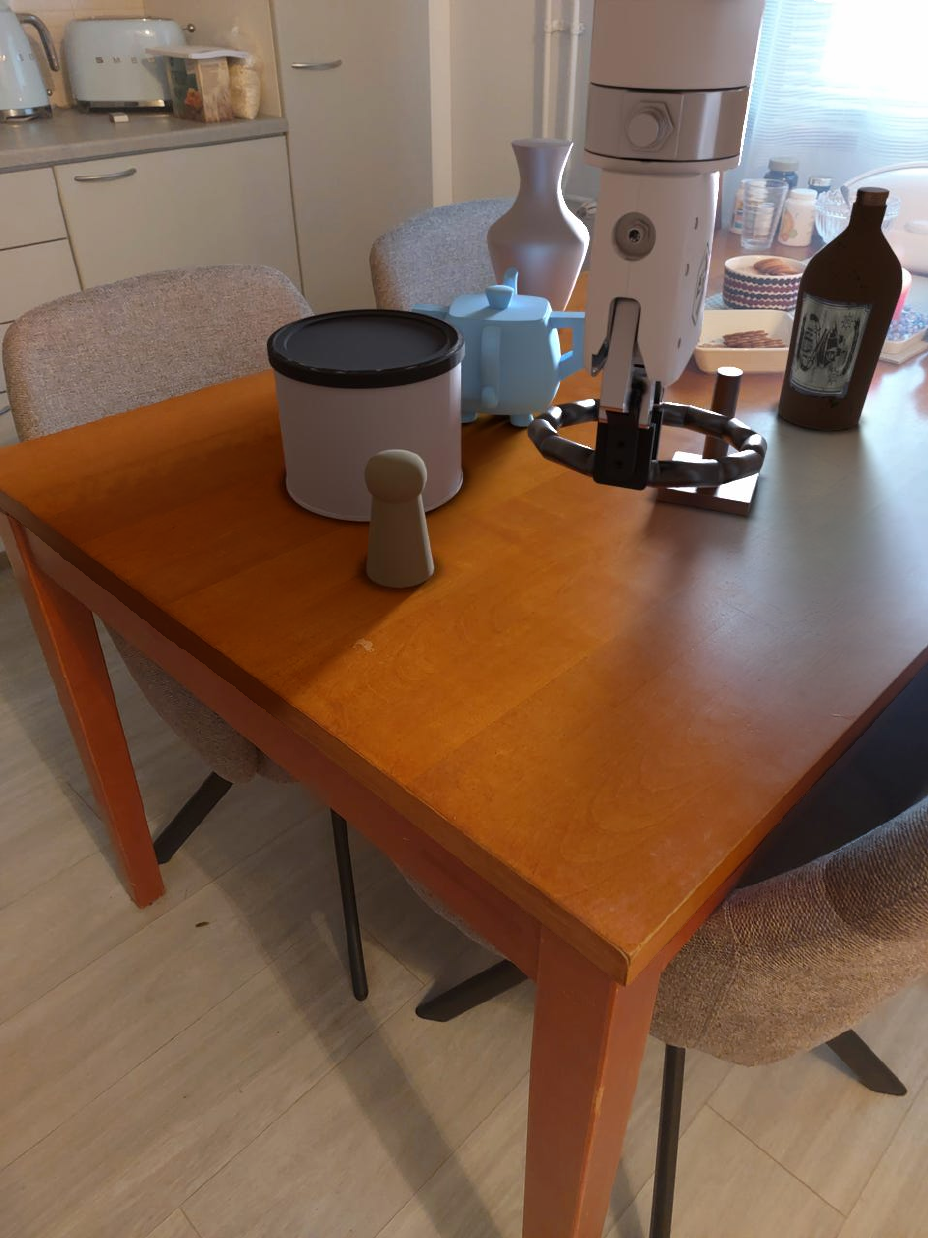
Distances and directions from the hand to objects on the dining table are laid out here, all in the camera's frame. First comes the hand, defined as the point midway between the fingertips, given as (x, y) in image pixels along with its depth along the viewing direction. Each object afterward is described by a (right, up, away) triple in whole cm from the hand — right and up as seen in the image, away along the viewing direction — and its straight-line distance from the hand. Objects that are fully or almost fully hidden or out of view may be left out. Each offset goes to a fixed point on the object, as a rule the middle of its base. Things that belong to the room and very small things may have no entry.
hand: (624, 474), depth 53 cm
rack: (+16, +5, +39) cm, 42 cm away
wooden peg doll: (-15, -4, +27) cm, 31 cm away
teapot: (-5, +18, +57) cm, 60 cm away
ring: (+2, +3, +5) cm, 7 cm away
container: (-19, +6, +41) cm, 45 cm away
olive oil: (+33, +16, +55) cm, 66 cm away
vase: (+1, +35, +81) cm, 88 cm away
